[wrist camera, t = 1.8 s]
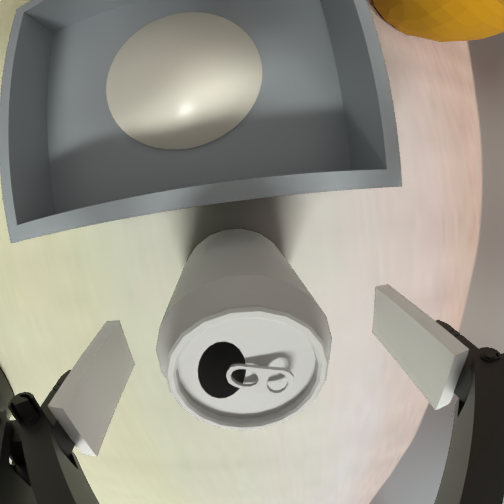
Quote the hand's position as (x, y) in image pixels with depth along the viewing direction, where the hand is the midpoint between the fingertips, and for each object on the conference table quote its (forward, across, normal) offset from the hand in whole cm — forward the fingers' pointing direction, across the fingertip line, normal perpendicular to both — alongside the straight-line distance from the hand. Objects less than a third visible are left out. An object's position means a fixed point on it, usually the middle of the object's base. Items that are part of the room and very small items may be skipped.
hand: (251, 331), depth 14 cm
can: (+8, -1, 0) cm, 8 cm away
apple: (+9, +17, +23) cm, 30 cm away
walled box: (+8, -3, +15) cm, 17 cm away
